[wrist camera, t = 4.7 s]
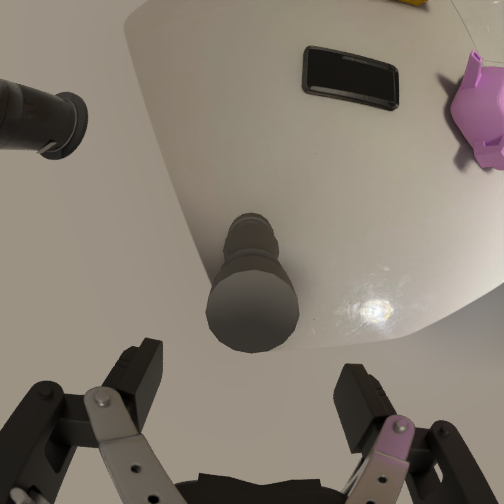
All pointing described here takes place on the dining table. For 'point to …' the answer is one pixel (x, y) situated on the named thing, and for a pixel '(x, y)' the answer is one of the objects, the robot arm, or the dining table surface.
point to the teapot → (482, 111)
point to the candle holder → (252, 290)
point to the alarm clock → (414, 2)
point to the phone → (350, 77)
